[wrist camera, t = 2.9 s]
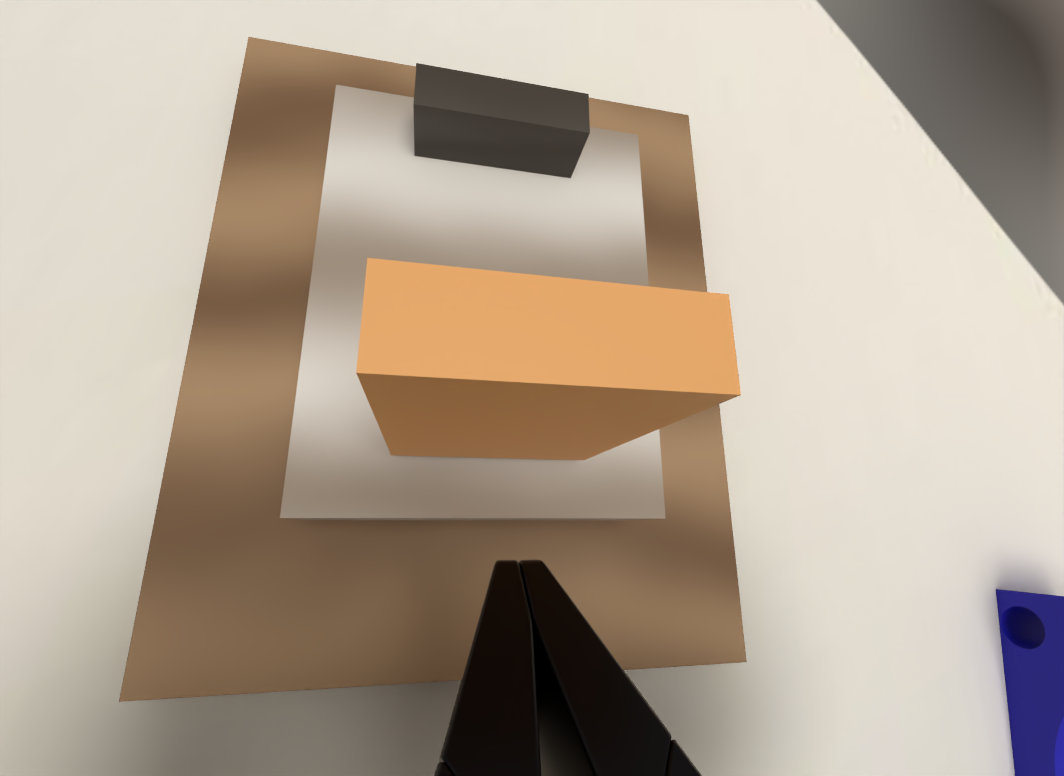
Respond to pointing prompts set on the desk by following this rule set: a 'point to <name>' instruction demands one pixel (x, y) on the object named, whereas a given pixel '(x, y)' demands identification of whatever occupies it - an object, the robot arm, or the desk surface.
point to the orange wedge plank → (534, 360)
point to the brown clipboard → (349, 423)
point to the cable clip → (1034, 679)
